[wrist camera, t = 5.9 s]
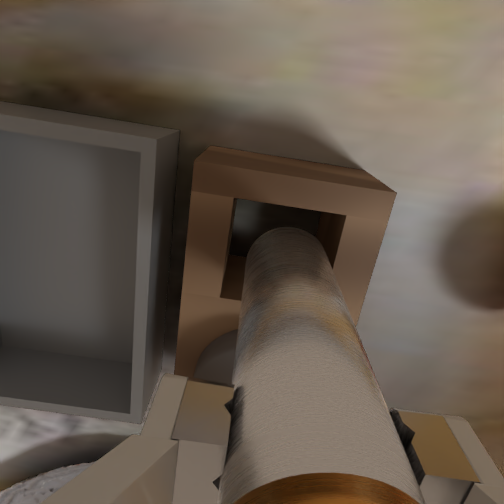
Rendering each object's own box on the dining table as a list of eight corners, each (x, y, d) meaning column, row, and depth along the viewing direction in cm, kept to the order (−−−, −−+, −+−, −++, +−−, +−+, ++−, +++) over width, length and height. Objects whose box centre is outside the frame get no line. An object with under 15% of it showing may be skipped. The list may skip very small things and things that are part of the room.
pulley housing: (308, 383, 25) (326, 496, 18) (186, 366, 24) (156, 474, 17) (364, 170, 19) (422, 211, 12) (210, 145, 19) (180, 172, 12)
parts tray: (161, 368, 25) (141, 423, 20) (0, 345, 24) (-55, 397, 20) (180, 130, 19) (156, 139, 15) (-31, 96, 18) (-116, 95, 14)
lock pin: (317, 306, 16) (427, 737, 5) (240, 295, 16) (188, 708, 5) (335, 234, 15) (530, 599, 4) (252, 220, 15) (216, 556, 4)
